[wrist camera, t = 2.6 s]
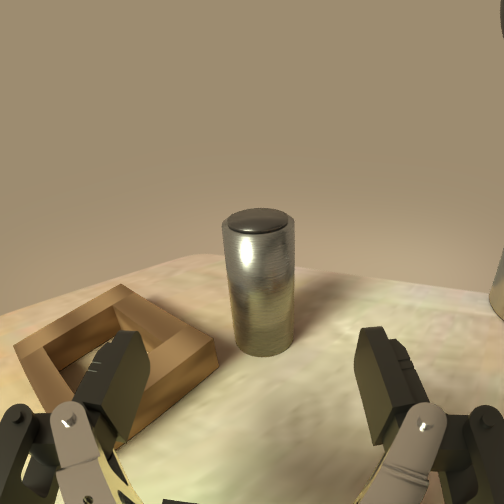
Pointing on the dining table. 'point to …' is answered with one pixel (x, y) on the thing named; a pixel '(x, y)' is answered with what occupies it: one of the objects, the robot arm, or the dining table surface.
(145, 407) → the frame
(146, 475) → the dining table surface
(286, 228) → the metal tea canister
